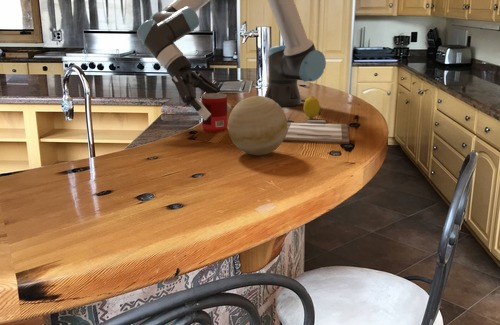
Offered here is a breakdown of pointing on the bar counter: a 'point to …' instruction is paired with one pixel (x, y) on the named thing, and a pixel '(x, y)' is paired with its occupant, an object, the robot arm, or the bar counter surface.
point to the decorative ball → (257, 125)
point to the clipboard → (317, 132)
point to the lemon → (311, 107)
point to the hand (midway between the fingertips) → (218, 113)
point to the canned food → (215, 112)
